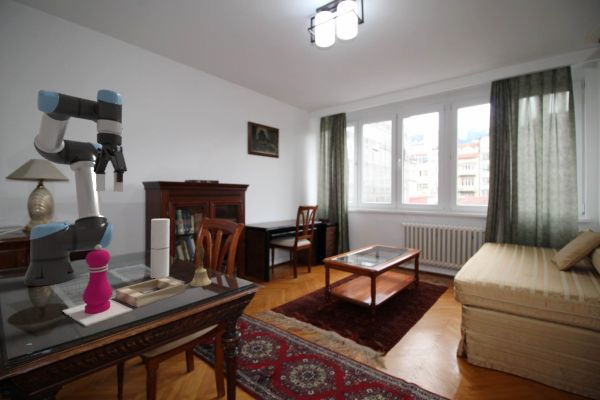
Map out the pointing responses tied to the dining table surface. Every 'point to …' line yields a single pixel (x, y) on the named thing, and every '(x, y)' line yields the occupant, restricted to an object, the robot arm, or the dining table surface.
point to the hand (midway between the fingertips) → (109, 191)
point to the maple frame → (138, 299)
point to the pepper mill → (97, 282)
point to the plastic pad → (90, 319)
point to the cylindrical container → (160, 248)
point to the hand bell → (200, 271)
